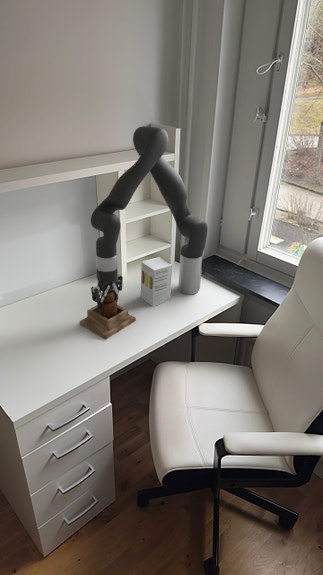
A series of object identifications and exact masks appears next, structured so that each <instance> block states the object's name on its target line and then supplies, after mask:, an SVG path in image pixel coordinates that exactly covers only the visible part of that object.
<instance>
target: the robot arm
mask: <svg viewBox="0 0 323 575" xmlns="http://www.w3.org/2000/svg"><path fill="white" fill-rule="evenodd" d="M169 142H170V141H169V135H168V132H167V131H166V130H165V129H163V128H161V127H155V126H139V127H137V128H136V129H135V130H134V133H133V135H132V143H133V146H134V149H135V151H136V153H137V154H138V156H139V157H138V159H137V160H136V161H135V163H134V164H132V165H131V166H130V167H129V168H128V169H127V170H126V171H125V172H123V173H122V174H121V175H120V176H119V178H118V179H117V180H116V181H115V183H114V185H113V186H112V188H111V189H110V191H109V193H108V195H107V197H106V198H105V199H103V201H101V203H99V205H98V206H96V208H95V209H94V210H93V212H92V214H91V217H90V225H91V226H92V228H94V229H95V230H96V231H97V230H98V231H99V232H102V234H103V236H100V237H98V238H97V239H96V241H95V254H96V256H95V257H96V258H95V270H96V271H95V272H96V273H95V274H96V279H97V285H96V286H91V287H90V291H91V297H92V301H93V302H95V303H97V304H96V305H97V307H98V309H99V310H101V311H102V310H104V302H103V300H104V297H106V295H107V293H108V292H109V291H111V290H112V292H114V295H115V298H114V300H115V301H116V302H117V303H118V301H119V293H120V292H121V291H122V290H123V280H124V279H123V278H124V277H123V276H122V275H120V274H118V256H117V255H118V254H117V253H118V251H117V242H118V240H119V236H120V232H121V220H120V217H119V216H118V215H116V214H115V212H116V211H123V210H125V209H126V208H127V206H128V204H129V203H130V201H131V199H132V198H133V196H134V194H135V192H136V191H137V189H138V187H139V186H140V185H141V183H142V182H143V180H144V179H145V177H146V176H147V175H148V174H149V173H150V175H151V177H152V178H153V180H154V182H155V184H156V185H157V186H156V187H158V189H159V193H160V194H161V195H162V198H163V200H164V201H165V203H166V205H167V207H168V208H169V211H170V212H171V214H172V217H173V218H174V221H175V224H176V227H177V229H178V232H179V233H180V235H182V236H183V237H184V238H186V239H188V243H187V244H184V245H182V246H181V247H180V248H181V249H180V257H179V274H178V283H177V284H178V286H177V288H178V292H180V293H182V294H185V295H195V294H197V293H198V292H199V291H200V288H201V280H202V270H203V269H202V265H203V264H202V263H203V253H204V251H205V249H206V244H207V237H208V225H207V222H206V221H205V220H203V219H201V218H199V217H198V216H197V217H196V216H195V215H194V214H192V212H191V211H190V209H189V206H188V203H187V201H188V200H187V199H188V190H187V188H186V185H185V183H184V181H183V179H182V177H181V175H180V174H179V173H178V171H177V170H176V169H175V168H174V167H173V166H172V165H171V164H170V163H169V162H168V161H167V160H166V158H164V156H163V155H164V154H165V152H166V151H167V149H168V148H169ZM102 292H104V293H102Z"/></svg>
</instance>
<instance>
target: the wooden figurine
mask: <svg viewBox="0 0 323 575" xmlns="http://www.w3.org/2000/svg"><path fill="white" fill-rule="evenodd" d="M101 293H104V292H102V291H101ZM114 298H115V295H114V292H112V290H111V291H109V292H108V293H107V295H106V297H104V300H103V302H104V310H102V311H101V310H99V311H100V315H101V316H103V317H105V318H107V319H110V318H112V317H114V316H115V315H116V313H117V305H118V302H116V301H115V300H114Z"/></svg>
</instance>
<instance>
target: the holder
mask: <svg viewBox="0 0 323 575" xmlns="http://www.w3.org/2000/svg"><path fill="white" fill-rule="evenodd" d="M86 313H87V316H86V317H84V318H83V319H81V320H79V325H81V326H82V327H84V328H85V329H87V330H89V331H90V332H92V333H95V334H96V335H98V336H100V337H101V338H103V339H105V340H107V339H109V338H111V337H112V336H114V335H115V334H117V333H119V332H120V331H122V330H123V329H125V328H126V327H128V326H129V325H131V324H133V323H135V322H136V321H137V317H136V316H134V315H132V314H130V313H129V310H128V309H126V308H124V307H122V306H120V305H118V304H117V313H116V315H115V316H114V317H112V318H110V319H107V318H105V317H103V316H101V315H100V311H99V309H98V307H97V304H96V305H95V306H93V307H91V308H89V309H87V310H86Z"/></svg>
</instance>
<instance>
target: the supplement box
mask: <svg viewBox="0 0 323 575" xmlns="http://www.w3.org/2000/svg"><path fill="white" fill-rule="evenodd" d="M140 267H141V271H140V298H142V299H143V300H144V301H146V302H147V303H148V304H149V305H150V306H152V307H154V306H157V305H160V304H164V303H166V302H168V301H171V291H172V289H171V288H172V276H173V275H172V274H173V264H171V263H169V262H168V261H166V260H165V259H163V258H162V257H160V256H158V257H157V256H156V257H155V258H154V257H153V258H150V259H146V260H143V261H141V266H140Z"/></svg>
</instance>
